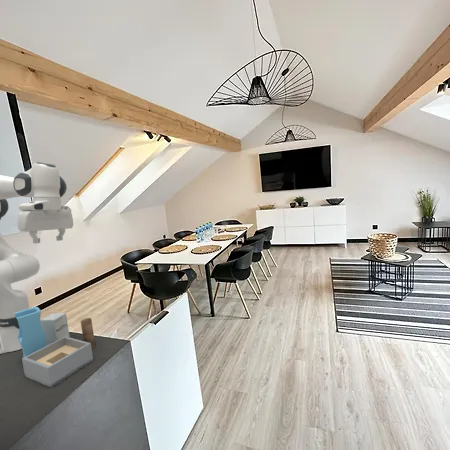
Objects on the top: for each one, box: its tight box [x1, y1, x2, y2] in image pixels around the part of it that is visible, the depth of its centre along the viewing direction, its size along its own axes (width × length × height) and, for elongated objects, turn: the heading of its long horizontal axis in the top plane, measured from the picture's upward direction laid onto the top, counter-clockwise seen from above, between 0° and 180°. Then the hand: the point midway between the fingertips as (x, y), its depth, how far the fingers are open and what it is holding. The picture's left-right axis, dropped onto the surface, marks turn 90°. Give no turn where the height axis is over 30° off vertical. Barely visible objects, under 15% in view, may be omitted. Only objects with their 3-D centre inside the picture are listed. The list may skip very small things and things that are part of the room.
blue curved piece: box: [14, 306, 46, 358], centre depth 109 cm, size 8×8×20 cm
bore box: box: [21, 336, 94, 389], centre depth 102 cm, size 16×16×7 cm
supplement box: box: [40, 312, 71, 346], centre depth 121 cm, size 7×7×13 cm
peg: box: [80, 317, 96, 350], centre depth 115 cm, size 4×4×12 cm
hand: (48, 241), depth 106 cm, fingers open, 8 cm apart
